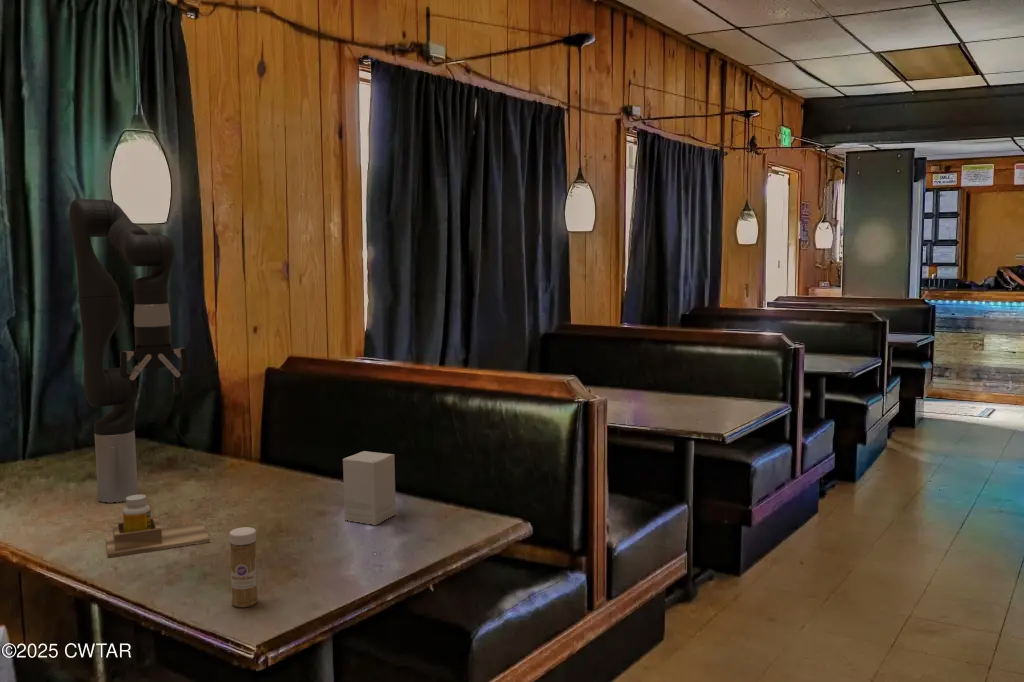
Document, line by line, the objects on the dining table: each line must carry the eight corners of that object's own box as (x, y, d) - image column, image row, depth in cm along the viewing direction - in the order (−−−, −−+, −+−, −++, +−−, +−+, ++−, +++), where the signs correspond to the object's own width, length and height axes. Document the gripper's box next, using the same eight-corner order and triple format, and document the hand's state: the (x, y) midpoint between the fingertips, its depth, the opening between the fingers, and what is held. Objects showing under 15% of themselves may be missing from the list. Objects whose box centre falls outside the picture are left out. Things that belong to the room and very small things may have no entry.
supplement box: (397, 515, 202) (396, 453, 201) (375, 526, 194) (374, 462, 193) (365, 510, 206) (364, 449, 204) (343, 521, 198) (341, 458, 196)
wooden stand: (105, 540, 185) (104, 522, 185) (202, 526, 194) (201, 509, 194) (107, 557, 175) (106, 539, 174) (210, 542, 184) (209, 524, 183)
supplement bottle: (124, 538, 184) (121, 495, 183) (151, 534, 186) (148, 492, 185) (124, 546, 179) (122, 501, 178) (152, 542, 181) (150, 498, 180)
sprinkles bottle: (232, 610, 149) (229, 536, 148) (231, 600, 154) (228, 528, 152) (259, 606, 151) (257, 532, 150) (257, 596, 155) (255, 525, 154)
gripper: (184, 321, 198) (186, 389, 200) (116, 323, 192) (120, 394, 194) (187, 323, 192) (191, 394, 193) (118, 326, 185) (122, 399, 187)
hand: (155, 394), depth 193 cm, fingers open, 8 cm apart
